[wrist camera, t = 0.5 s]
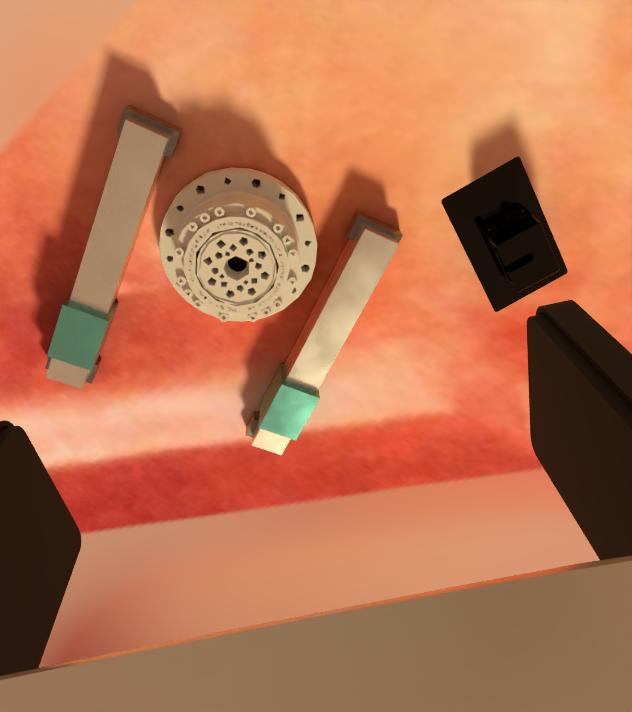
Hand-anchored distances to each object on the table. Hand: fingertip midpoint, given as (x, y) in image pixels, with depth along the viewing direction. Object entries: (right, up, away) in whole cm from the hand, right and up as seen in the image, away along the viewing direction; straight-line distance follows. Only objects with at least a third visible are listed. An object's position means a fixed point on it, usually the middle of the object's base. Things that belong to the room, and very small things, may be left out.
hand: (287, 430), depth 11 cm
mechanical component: (-4, +9, +29) cm, 30 cm away
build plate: (+13, +10, +30) cm, 34 cm away
